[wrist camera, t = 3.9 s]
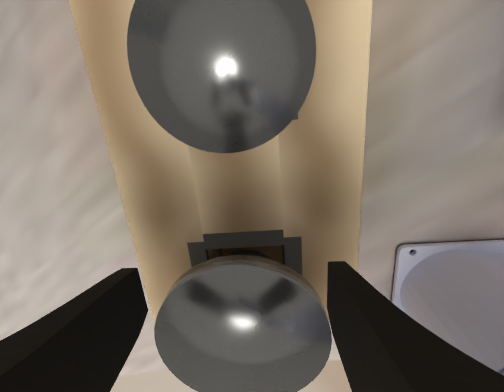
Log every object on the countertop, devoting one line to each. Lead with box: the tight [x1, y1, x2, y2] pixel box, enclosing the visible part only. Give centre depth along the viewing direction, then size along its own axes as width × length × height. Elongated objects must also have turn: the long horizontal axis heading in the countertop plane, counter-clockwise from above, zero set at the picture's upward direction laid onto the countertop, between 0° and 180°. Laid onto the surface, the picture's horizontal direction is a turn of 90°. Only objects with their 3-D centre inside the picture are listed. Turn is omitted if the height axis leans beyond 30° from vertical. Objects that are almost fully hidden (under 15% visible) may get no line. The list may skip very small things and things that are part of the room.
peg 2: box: [154, 250, 332, 392], centre depth 15 cm, size 8×8×5 cm
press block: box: [69, 0, 372, 323], centre depth 17 cm, size 13×19×5 cm
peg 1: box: [127, 0, 316, 153], centre depth 14 cm, size 8×8×5 cm
